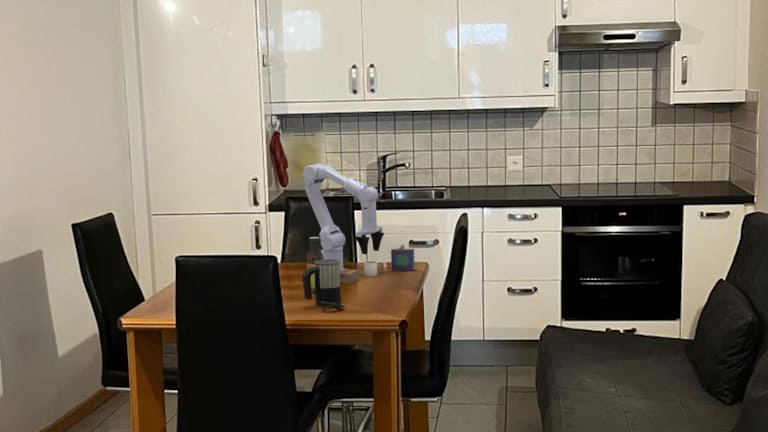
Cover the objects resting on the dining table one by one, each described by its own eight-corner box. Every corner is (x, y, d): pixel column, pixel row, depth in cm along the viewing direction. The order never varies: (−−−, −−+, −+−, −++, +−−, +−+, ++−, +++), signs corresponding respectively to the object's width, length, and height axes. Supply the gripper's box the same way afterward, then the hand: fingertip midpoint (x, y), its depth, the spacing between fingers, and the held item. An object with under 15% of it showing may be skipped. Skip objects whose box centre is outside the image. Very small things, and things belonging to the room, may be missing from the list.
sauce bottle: (322, 293, 332) (320, 239, 329) (306, 292, 333) (303, 239, 330) (327, 289, 338) (324, 236, 335) (311, 288, 339) (308, 236, 336)
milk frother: (328, 299, 323) (326, 257, 321) (362, 304, 313) (360, 262, 311) (299, 307, 312) (297, 264, 310) (334, 313, 302) (332, 269, 300)
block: (331, 283, 348) (330, 273, 348) (340, 279, 356) (339, 269, 355) (349, 284, 345) (349, 274, 345) (359, 280, 352) (358, 270, 352)
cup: (362, 275, 360) (361, 262, 359) (369, 273, 364) (369, 260, 363) (372, 276, 357) (371, 263, 356) (380, 274, 361) (379, 261, 360)
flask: (414, 269, 367) (413, 243, 365) (414, 271, 364) (413, 244, 363) (391, 270, 368) (390, 244, 366) (391, 271, 365) (390, 245, 363)
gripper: (366, 221, 349) (367, 256, 351) (388, 216, 361) (389, 249, 363) (351, 220, 353) (352, 254, 355) (373, 215, 365) (375, 248, 367)
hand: (370, 252), depth 359 cm, fingers open, 7 cm apart
